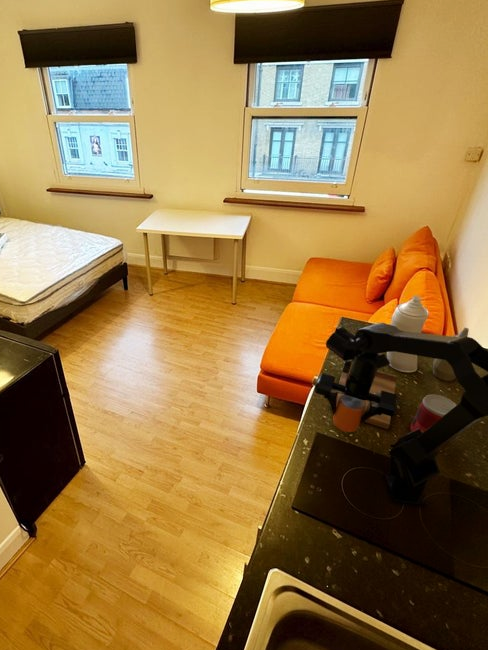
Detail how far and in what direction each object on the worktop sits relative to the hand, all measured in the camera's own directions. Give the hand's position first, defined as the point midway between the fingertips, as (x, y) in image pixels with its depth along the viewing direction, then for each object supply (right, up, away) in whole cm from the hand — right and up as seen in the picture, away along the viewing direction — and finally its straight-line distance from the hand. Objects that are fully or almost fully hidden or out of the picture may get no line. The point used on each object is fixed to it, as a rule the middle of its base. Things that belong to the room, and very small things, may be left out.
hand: (347, 417), depth 98 cm
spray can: (+28, +12, +28) cm, 41 cm away
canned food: (+22, -5, +3) cm, 23 cm away
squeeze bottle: (+41, +8, +23) cm, 47 cm away
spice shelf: (+10, +2, +13) cm, 17 cm away
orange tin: (0, -2, +1) cm, 2 cm away
